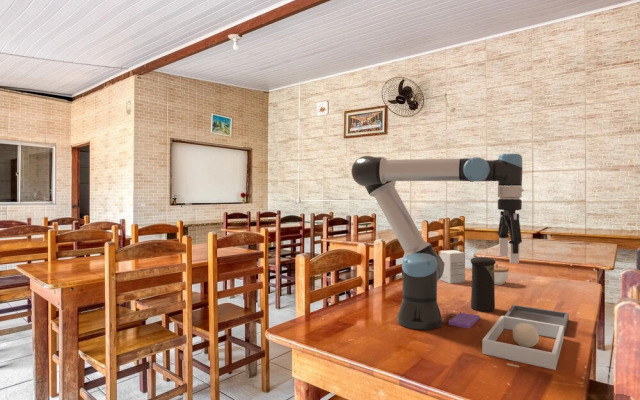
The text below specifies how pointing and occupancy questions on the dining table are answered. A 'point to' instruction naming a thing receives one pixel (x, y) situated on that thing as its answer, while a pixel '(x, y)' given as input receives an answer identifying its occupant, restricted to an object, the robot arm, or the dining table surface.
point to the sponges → (464, 320)
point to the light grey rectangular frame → (524, 353)
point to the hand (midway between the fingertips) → (508, 259)
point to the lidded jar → (500, 274)
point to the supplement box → (453, 266)
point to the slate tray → (539, 315)
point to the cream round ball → (525, 335)
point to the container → (483, 284)
